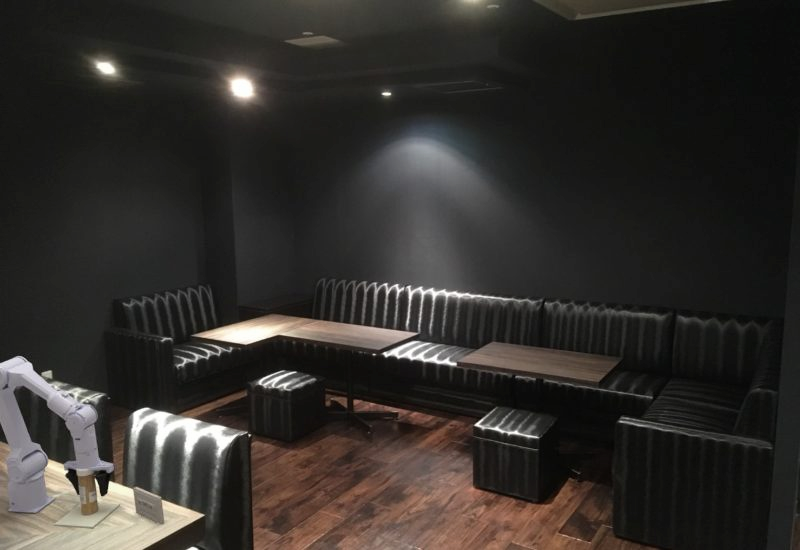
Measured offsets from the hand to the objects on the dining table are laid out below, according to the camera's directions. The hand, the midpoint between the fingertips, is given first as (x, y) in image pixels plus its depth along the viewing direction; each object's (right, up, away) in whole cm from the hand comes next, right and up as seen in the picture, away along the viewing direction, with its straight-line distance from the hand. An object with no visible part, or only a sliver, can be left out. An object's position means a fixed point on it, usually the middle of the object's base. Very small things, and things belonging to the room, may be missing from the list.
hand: (92, 494), depth 187 cm
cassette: (+18, -5, -5) cm, 19 cm away
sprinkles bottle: (0, -5, -1) cm, 5 cm away
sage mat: (0, -5, -2) cm, 6 cm away
